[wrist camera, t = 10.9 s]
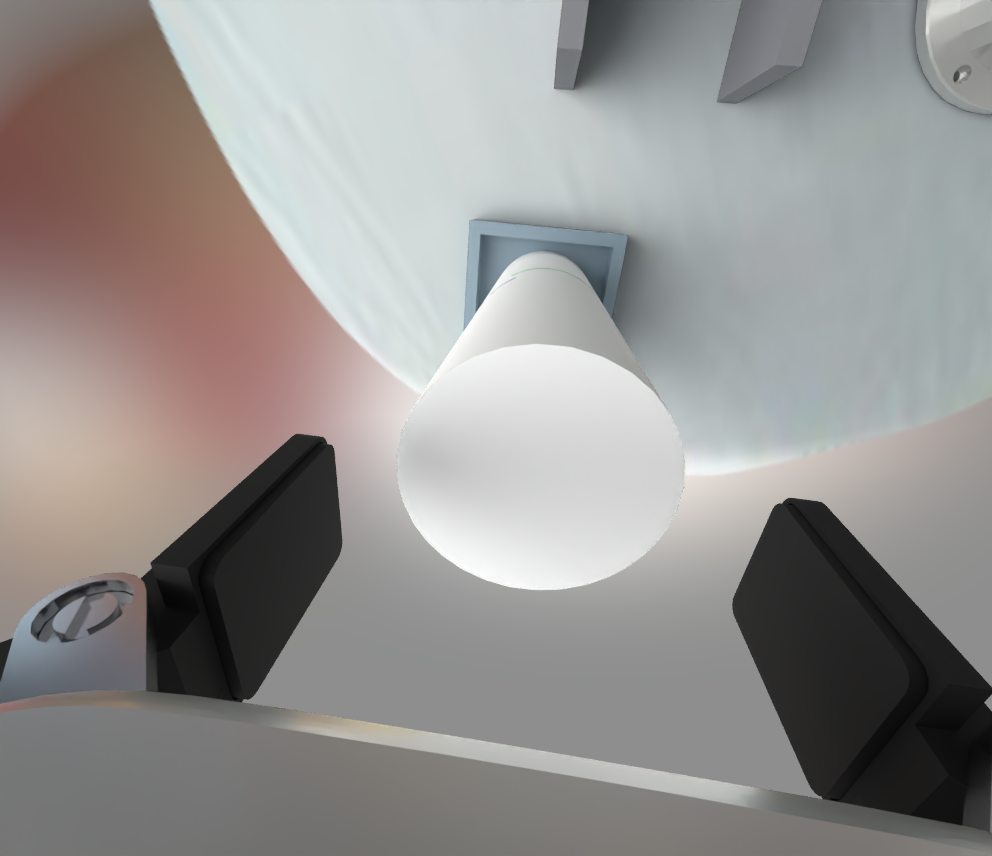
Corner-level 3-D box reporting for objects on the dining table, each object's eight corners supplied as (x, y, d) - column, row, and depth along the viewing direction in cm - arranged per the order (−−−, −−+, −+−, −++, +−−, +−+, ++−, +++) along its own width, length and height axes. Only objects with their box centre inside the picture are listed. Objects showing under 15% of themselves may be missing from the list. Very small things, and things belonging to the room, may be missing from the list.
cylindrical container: (475, 288, 34) (339, 444, 11) (557, 228, 31) (588, 276, 9) (528, 365, 36) (501, 622, 14) (608, 314, 34) (735, 523, 11)
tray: (622, 233, 32) (628, 235, 30) (595, 375, 37) (598, 385, 34) (474, 219, 32) (469, 220, 30) (466, 360, 37) (461, 370, 35)
